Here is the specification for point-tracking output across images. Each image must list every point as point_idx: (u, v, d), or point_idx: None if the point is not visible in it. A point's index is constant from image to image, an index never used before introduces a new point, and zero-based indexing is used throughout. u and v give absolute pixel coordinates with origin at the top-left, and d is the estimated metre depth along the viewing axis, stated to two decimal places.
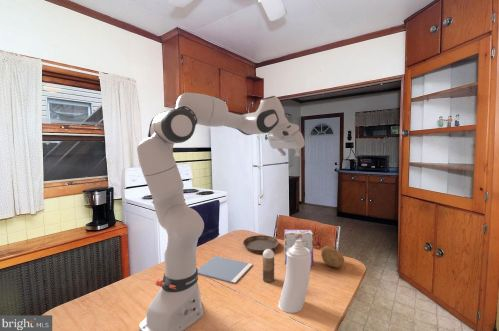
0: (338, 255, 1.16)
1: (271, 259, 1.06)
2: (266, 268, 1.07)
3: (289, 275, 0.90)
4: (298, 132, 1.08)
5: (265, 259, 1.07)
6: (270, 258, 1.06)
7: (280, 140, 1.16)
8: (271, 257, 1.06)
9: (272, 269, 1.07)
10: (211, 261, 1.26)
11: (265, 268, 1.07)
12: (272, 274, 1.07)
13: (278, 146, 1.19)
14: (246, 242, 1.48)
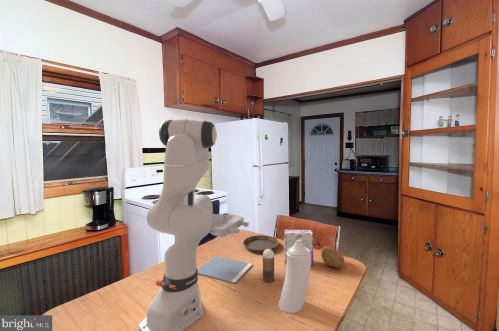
0: (338, 255, 1.16)
1: (271, 259, 1.06)
2: (266, 268, 1.07)
3: (289, 275, 0.90)
4: None
5: (265, 259, 1.07)
6: (270, 258, 1.06)
7: (225, 222, 1.16)
8: (271, 257, 1.06)
9: (272, 269, 1.07)
10: (211, 261, 1.26)
11: (265, 268, 1.07)
12: (272, 274, 1.07)
13: (227, 224, 1.12)
14: (246, 242, 1.48)
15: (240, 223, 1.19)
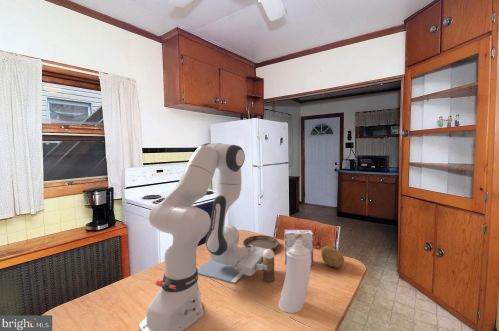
0: (338, 255, 1.16)
1: (271, 259, 1.06)
2: None
3: (289, 275, 0.90)
4: None
5: (265, 259, 1.07)
6: (270, 258, 1.06)
7: (250, 257, 1.11)
8: (271, 257, 1.06)
9: (272, 269, 1.07)
10: (211, 261, 1.26)
11: None
12: (272, 274, 1.07)
13: (254, 261, 1.07)
14: (246, 242, 1.48)
15: None
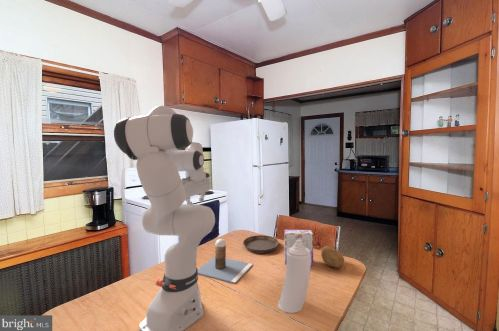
0: (338, 255, 1.16)
1: (222, 248, 1.17)
2: (217, 255, 1.18)
3: (289, 275, 0.90)
4: None
5: (216, 247, 1.17)
6: (221, 247, 1.17)
7: (196, 185, 1.20)
8: (222, 246, 1.17)
9: (223, 257, 1.18)
10: (211, 261, 1.26)
11: (217, 255, 1.18)
12: (223, 261, 1.18)
13: (193, 193, 1.17)
14: (246, 242, 1.48)
15: (201, 192, 1.27)
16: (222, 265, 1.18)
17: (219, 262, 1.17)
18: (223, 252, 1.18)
